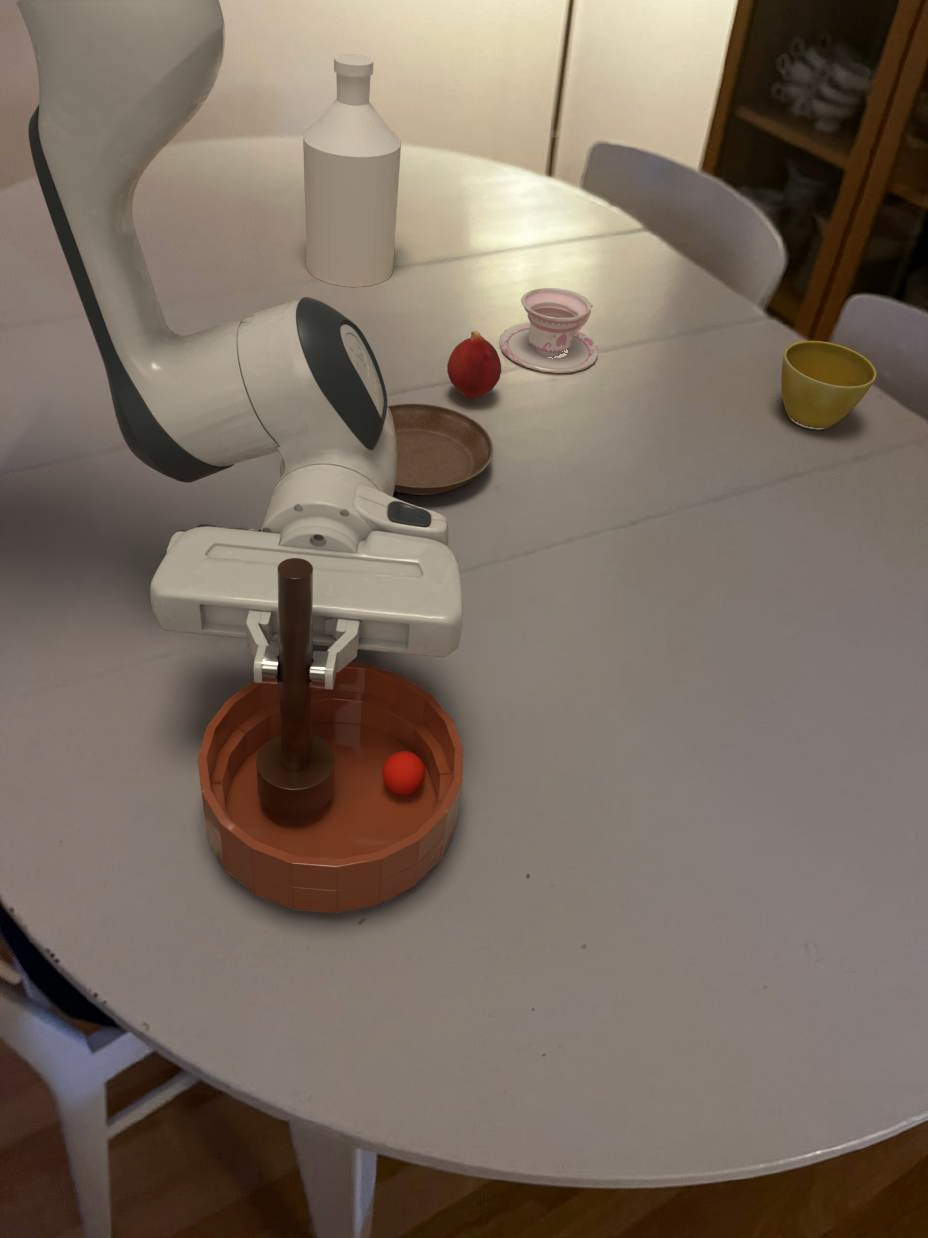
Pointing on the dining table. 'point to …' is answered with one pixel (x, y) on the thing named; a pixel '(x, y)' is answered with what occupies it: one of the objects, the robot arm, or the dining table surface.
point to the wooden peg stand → (295, 708)
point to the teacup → (551, 332)
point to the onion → (474, 366)
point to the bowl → (361, 803)
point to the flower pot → (823, 382)
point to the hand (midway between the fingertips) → (293, 679)
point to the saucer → (437, 448)
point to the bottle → (351, 184)
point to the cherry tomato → (403, 772)
